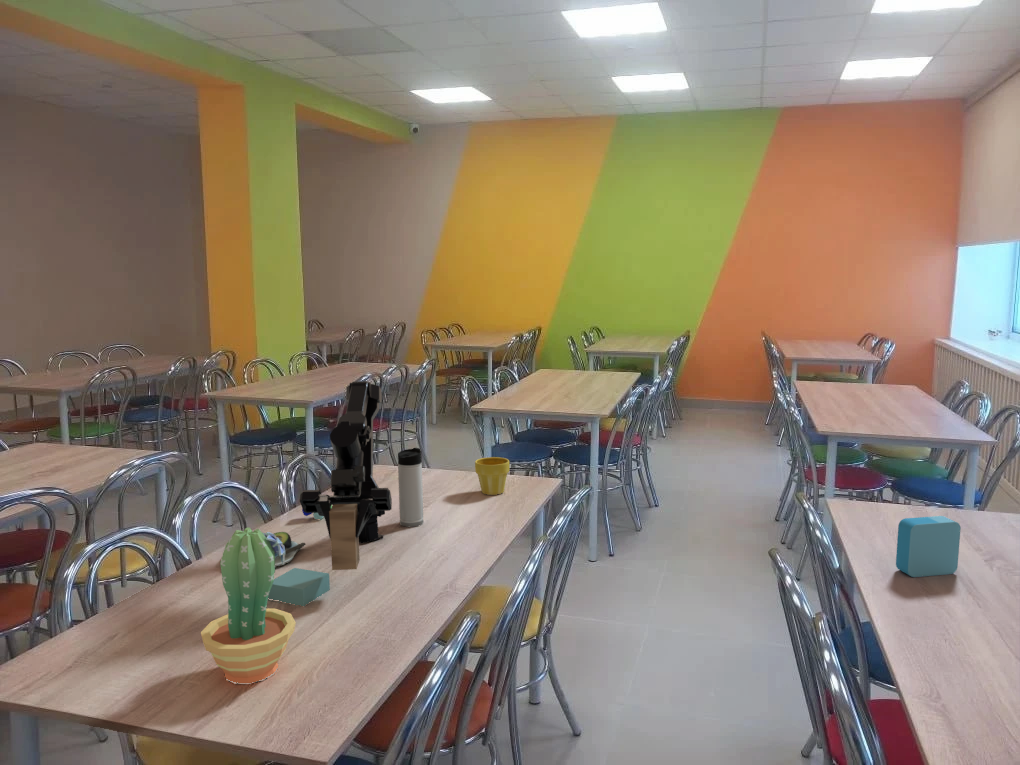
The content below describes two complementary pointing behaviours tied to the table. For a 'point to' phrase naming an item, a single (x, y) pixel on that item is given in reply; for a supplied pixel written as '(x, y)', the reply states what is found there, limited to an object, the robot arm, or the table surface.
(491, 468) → the plant pot
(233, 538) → the potted cactus
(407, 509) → the travel mug
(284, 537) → the salad plate
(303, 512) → the dice
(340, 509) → the walnut block
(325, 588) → the teal base block
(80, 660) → the table surface
